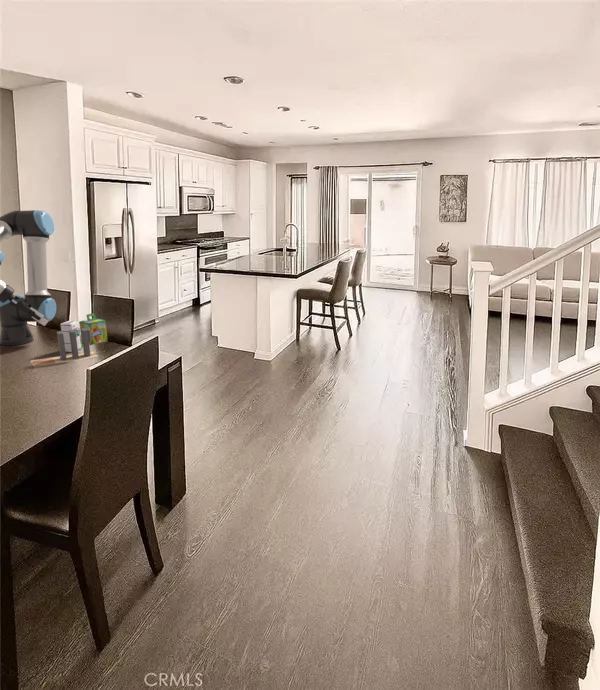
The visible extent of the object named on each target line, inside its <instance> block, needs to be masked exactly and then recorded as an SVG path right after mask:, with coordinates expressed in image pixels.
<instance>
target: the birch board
mask: <svg viewBox="0 0 600 690" xmlns="http://www.w3.org/2000/svg"><path fill="white" fill-rule="evenodd" d="M90 355H91V356H89V357H86V356H85V355H84V351H83V352H78V356H79V358H77V359H74V358H73V356H72V353H71V354H66V358H67V360H64V361H62V360H61V358H60V355H59V356H51V357H46V358H38V359H31V360H30V362H31V364H32V365H31V366H32V367H33V368H34V369H35V368H41V367H46V366H47V367H48V366H51V365H53V366H54V365H58V364H65V363H66V364H67V363H71V362H77V361H83V360H88V359H89V360H91V359H97V358H99V356H98V355H97V354H96V353H95V352H94V351H93V350H92V351H91V350H90Z"/></svg>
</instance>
